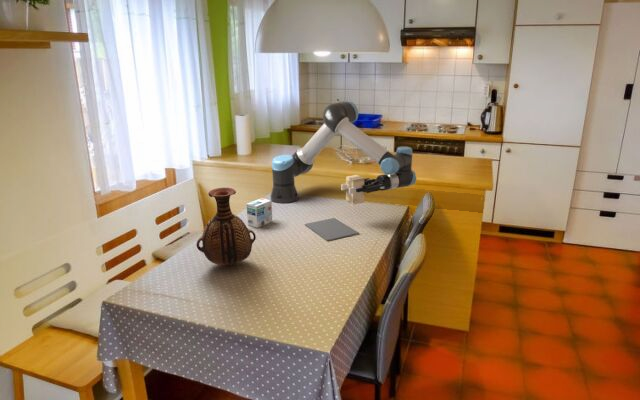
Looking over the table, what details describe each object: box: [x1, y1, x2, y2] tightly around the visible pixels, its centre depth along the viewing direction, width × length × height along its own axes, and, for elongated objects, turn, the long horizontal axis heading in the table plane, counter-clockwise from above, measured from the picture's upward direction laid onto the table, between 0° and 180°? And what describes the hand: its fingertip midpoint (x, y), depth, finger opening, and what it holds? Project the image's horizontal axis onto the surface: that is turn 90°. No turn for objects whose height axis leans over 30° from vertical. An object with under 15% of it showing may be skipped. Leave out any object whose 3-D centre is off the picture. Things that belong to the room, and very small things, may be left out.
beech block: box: [345, 174, 365, 206], centre depth 216 cm, size 6×6×12 cm
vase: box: [196, 187, 257, 267], centre depth 176 cm, size 21×18×30 cm
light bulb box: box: [246, 197, 273, 229], centre depth 221 cm, size 11×7×11 cm, turn 143°
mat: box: [304, 217, 360, 242], centre depth 213 cm, size 22×16×1 cm
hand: (345, 189), depth 214 cm, fingers closed on beech block, 6 cm apart
